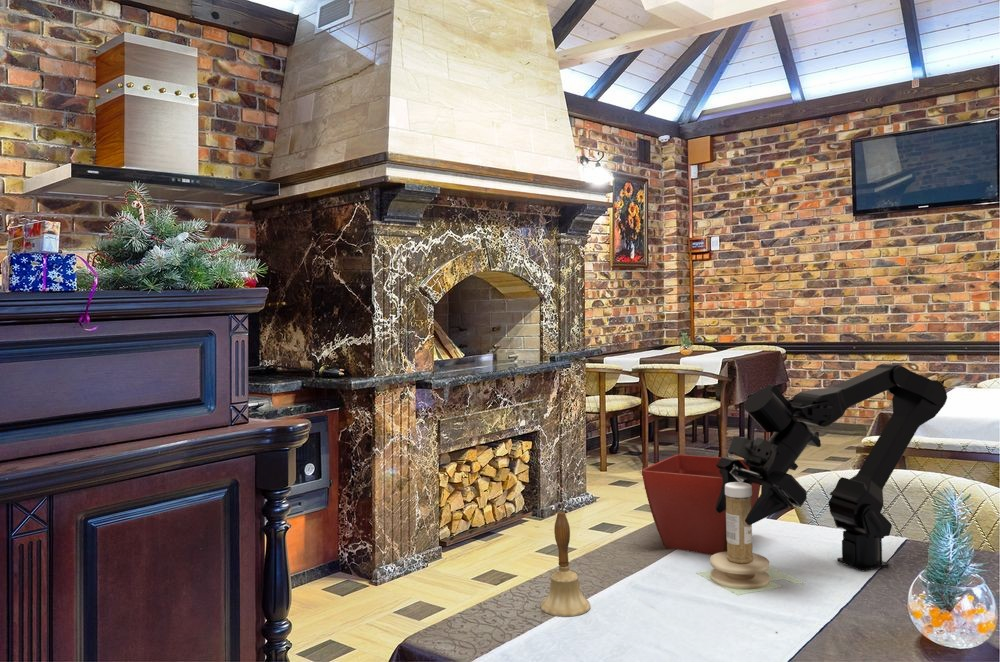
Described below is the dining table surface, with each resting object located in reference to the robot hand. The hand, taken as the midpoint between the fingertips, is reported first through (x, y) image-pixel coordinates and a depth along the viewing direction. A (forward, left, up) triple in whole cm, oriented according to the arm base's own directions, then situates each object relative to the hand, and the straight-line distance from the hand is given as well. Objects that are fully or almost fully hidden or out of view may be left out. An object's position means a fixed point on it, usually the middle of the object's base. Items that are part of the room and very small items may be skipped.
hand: (731, 517), depth 137 cm
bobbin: (-2, 0, -11) cm, 11 cm away
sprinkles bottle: (-2, 0, -8) cm, 8 cm away
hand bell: (+30, -4, -12) cm, 33 cm away
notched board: (-4, 0, -12) cm, 13 cm away
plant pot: (-8, -20, -12) cm, 25 cm away
